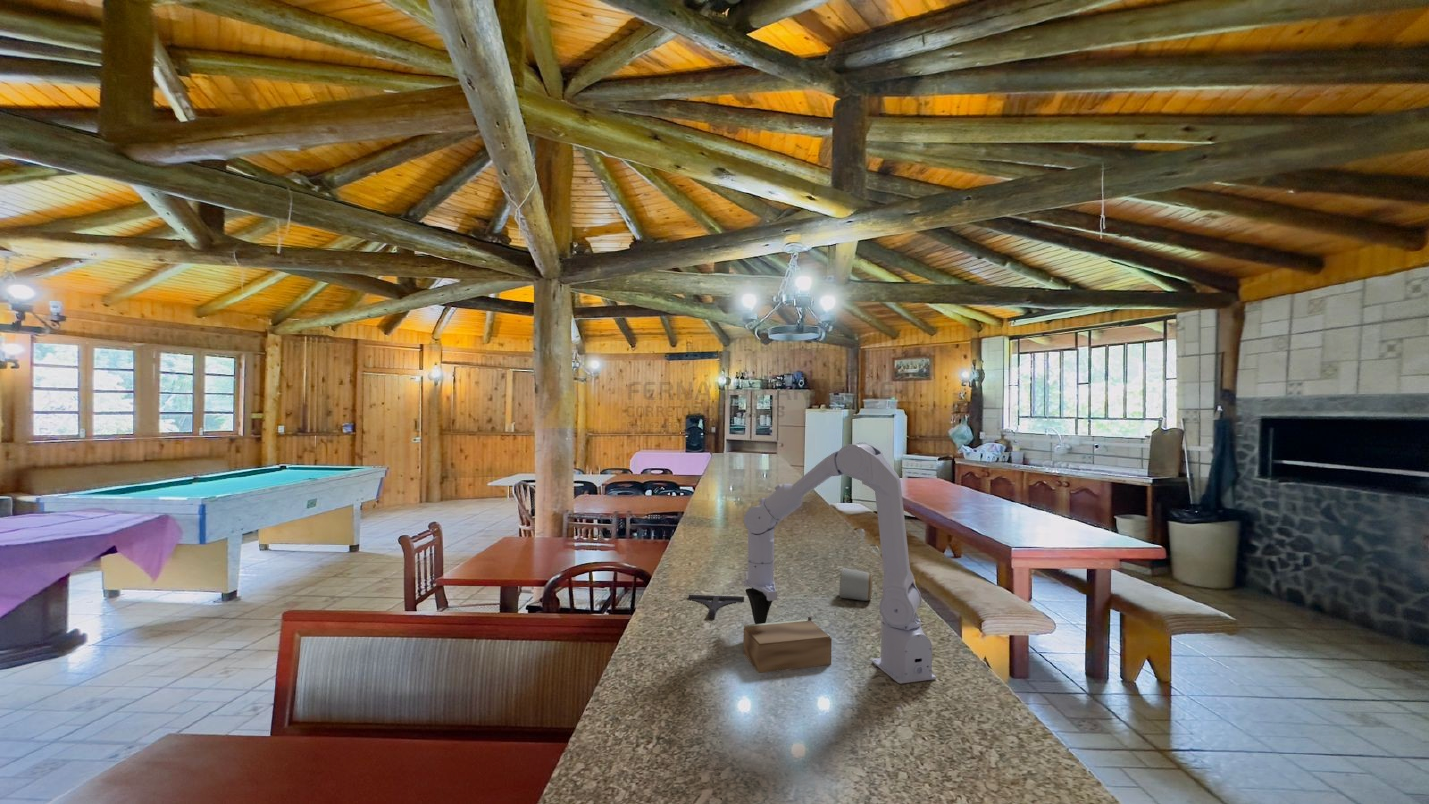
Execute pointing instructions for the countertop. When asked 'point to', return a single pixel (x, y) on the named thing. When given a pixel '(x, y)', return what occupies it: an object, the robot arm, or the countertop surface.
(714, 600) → the bracket
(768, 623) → the door
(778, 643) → the cabinet
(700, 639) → the countertop surface
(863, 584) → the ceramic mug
